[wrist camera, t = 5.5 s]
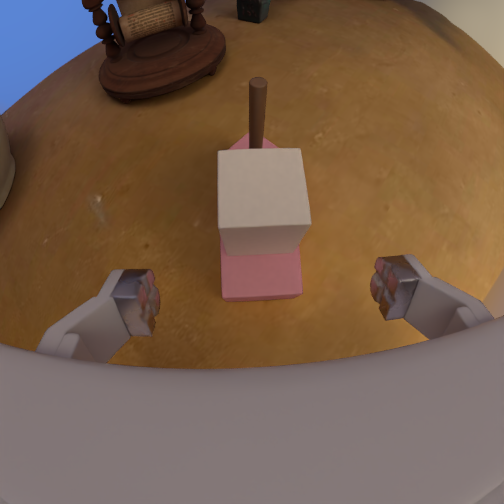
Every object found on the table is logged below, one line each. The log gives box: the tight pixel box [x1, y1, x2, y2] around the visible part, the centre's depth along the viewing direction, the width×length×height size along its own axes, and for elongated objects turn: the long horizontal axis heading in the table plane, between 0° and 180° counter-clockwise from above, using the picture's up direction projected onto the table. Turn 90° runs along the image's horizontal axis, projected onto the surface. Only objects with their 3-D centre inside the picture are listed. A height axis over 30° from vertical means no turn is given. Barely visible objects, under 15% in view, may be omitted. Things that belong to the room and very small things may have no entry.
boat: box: [218, 77, 311, 302], centre depth 15 cm, size 12×5×11 cm, turn 3°
